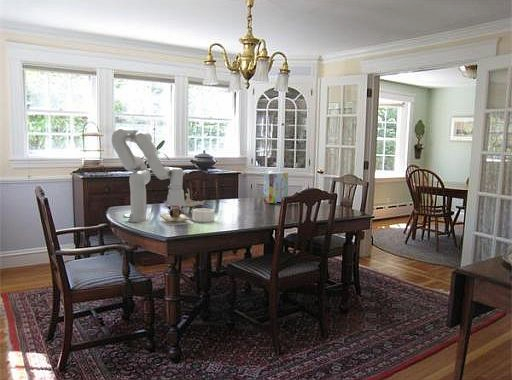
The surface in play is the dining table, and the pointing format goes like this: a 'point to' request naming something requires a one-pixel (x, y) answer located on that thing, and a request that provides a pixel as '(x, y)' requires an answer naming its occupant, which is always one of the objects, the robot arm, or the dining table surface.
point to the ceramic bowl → (203, 215)
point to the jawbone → (191, 201)
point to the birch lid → (175, 216)
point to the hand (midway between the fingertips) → (174, 215)
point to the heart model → (173, 207)
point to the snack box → (275, 186)
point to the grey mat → (176, 222)
